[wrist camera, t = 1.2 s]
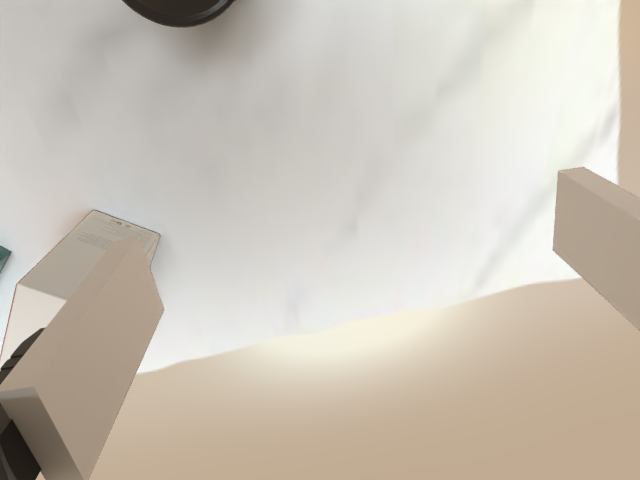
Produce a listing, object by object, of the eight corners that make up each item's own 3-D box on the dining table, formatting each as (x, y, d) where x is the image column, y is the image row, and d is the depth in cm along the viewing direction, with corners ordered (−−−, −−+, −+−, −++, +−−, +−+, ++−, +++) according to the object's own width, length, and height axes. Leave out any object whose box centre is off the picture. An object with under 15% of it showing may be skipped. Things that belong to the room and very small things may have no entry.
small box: (92, 207, 43) (14, 281, 31) (162, 233, 44) (112, 313, 32) (72, 279, 46) (-6, 371, 34) (137, 302, 47) (84, 397, 35)
